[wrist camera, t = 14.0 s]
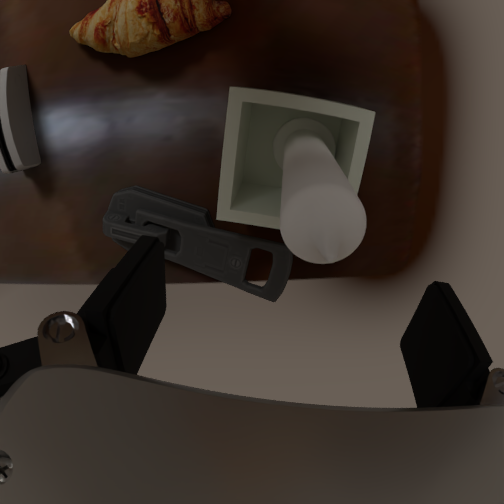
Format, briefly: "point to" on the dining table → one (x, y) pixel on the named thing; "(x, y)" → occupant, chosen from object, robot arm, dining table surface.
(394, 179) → the dining table surface
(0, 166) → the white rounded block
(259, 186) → the open square box
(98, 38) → the croissant
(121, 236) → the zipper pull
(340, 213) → the candle
